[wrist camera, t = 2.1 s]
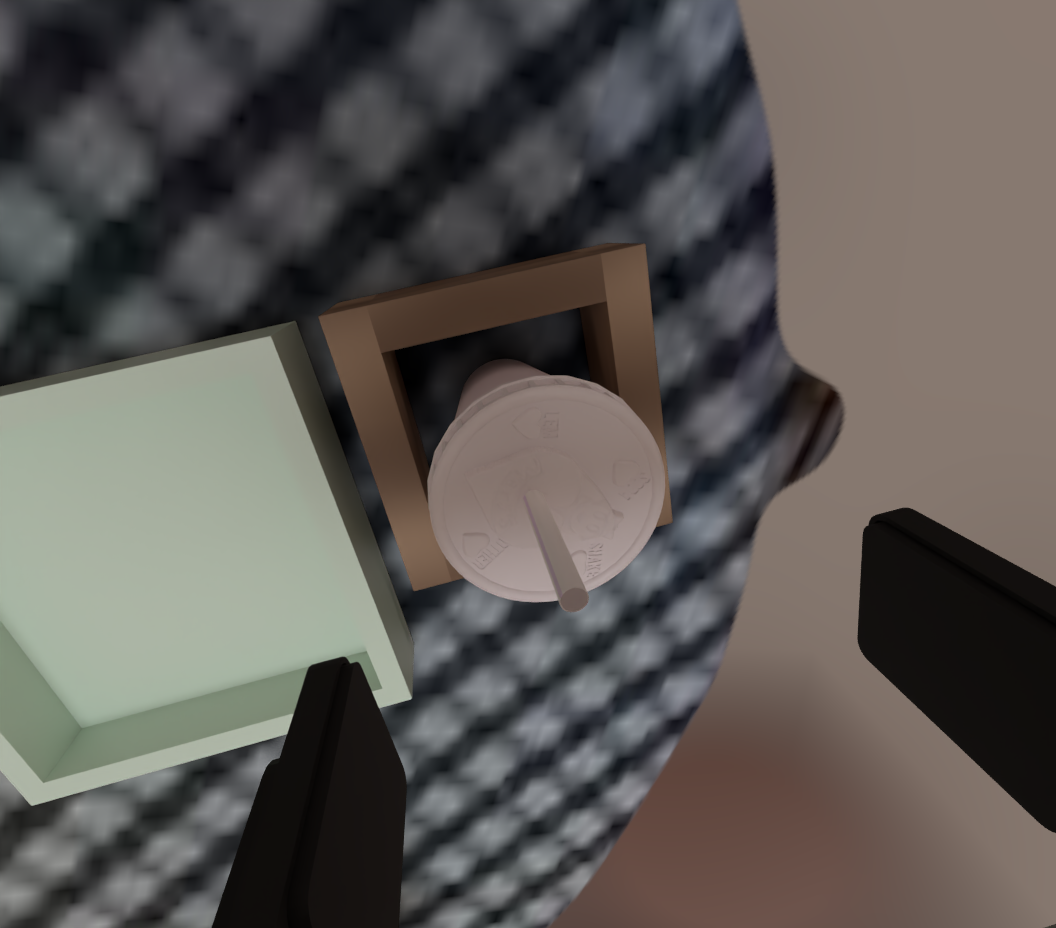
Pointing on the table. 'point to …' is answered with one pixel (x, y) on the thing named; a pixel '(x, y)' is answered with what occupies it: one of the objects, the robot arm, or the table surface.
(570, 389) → the smoothie
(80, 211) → the table surface
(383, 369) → the socket block
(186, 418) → the tray
